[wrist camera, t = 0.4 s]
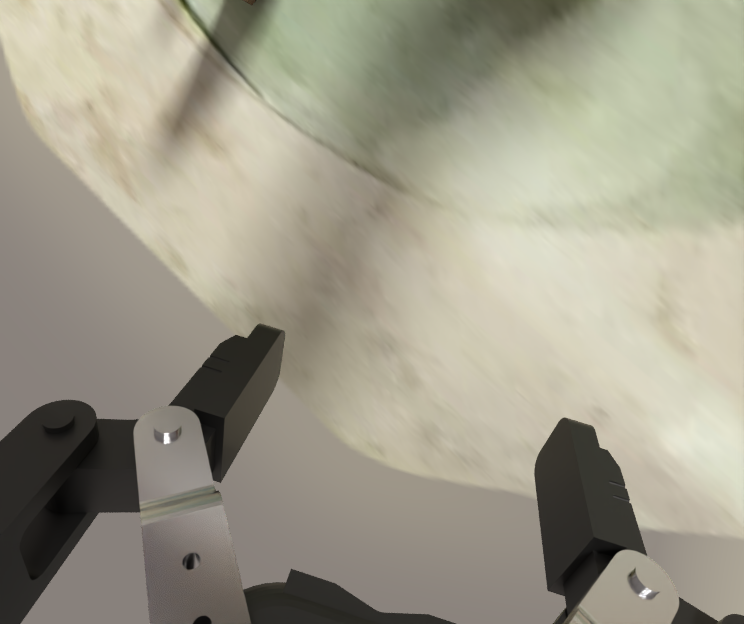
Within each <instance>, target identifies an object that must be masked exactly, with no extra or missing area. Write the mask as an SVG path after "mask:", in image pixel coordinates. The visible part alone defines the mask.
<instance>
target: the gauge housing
mask: <svg viewBox="0 0 744 624" xmlns="http://www.w3.org/2000/svg"><path fill="white" fill-rule="evenodd" d="M243 1H245V2H247V3H249V4H251V5H253V3H254V2H255V1H256V0H243Z"/></svg>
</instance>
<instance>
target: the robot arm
mask: <svg viewBox="0 0 744 624" xmlns="http://www.w3.org/2000/svg"><path fill="white" fill-rule="evenodd" d="M284 340H285V331H283V330H280V329H276V328H273V327H270V326H267V325H263V324H258V325H257V326H256V327H255V329H254V330H253V331H252V333H251V334H250V335H249V337H248V338H244V337H241V336H238V335H235V336H233V337H231V338H229V339H228V340H225V341H224V342H222V343H220V344H219V345H218V347H217V348H216V349H215V350H214V351H213V353H212V354H211V355H210V358H208V359H207V360H206V361H205V362H204V364H203V365H202V367H201V368H200V369H199V370H198V371H197V372H196V373H195V374H194V376H193V377H192V378H191V380H189V382H188V383H187V384H186V385H185V387H184V388H183V389H182V390H181V391H180V393H179V394H178V395H177V396H176V397H175V399H174V400H173V401H172V402H171V403H170V404H169V405H168V406H164V407H159V408H156V409H153V410H151V411H149V412H148V413H146V414H144V415H143V416H142V417H141V418H140V419H136V420H114V419H112V420H111V419H97V417H96V413H95V411H94V409H93V408H92V407H91V406H89V405H88V404H86V403H84V402H81V401H76V400H61V401H55V402H51V403H49V404H46V405H43V406H41V407H39V408H37V409H36V410H34V411H33V412H31V413H30V414H29V415H28V416H27V417H26V418H25V419H23V420H22V422H20V423H19V424H18V425H17V426H16V427H15V428H14V429H13V430H12V431H11V432H10V433H9V434H8V435H7V436H6V437H5V438H3V439H2V440H1V441H0V624H20V623H21V622H22V621H23V619H24V618H25V616H26V615H27V614H28V612H29V611H30V609H31V608H32V606H33V605H34V604H35V602H36V601H37V599H38V598H39V597H40V595H41V594H42V592H43V591H44V590H45V588H46V587H47V585H48V584H49V582H50V581H51V580H52V578H53V577H54V575H55V574H56V573H57V571H58V570H59V568H60V567H61V565H62V564H63V563H64V561H65V560H66V558H67V557H68V556H69V554H70V553H71V551H72V550H73V549H74V547H75V546H76V544H77V543H78V542H79V540H80V539H81V537H82V536H83V534H84V533H85V531H86V530H87V529H88V527H89V526H90V525H91V523H92V522H93V520H94V519H95V517H96V516H97V515H98V513H99V512H140V515H141V528H142V538H143V551H144V561H145V573H146V585H147V596H148V607H149V618H150V624H455V623H452V622H449V621H446V620H443V619H440V618H437V617H434V616H431V615H428V614H427V615H426V614H403V613H382V612H379V611H376V610H375V609H373V608H372V607H370V606H369V605H367V604H365V603H364V602H362V601H361V600H359V599H358V598H356V597H355V596H353V595H352V594H350V593H349V592H347V591H346V590H344V589H343V588H341V587H340V586H338V585H337V584H335V583H332V582H329V581H326V580H323V579H320V578H317V577H314V576H311V575H308V574H305V573H302V572H299V571H296V570H293V569H291V571H290V574H289V577H288V579H287V582H286V583H283V582H282V583H280V582H276V583H265V584H261V585H256V586H253V587H250V588H247V589H245V590H243V587H242V583H241V578H240V574H239V569H238V565H237V561H236V556H235V553H234V548H233V543H232V539H231V535H230V531H229V526H228V522H227V518H226V513H225V509H224V505H223V501H222V497H221V494H220V492H219V491H216V490H215V488H214V483H213V480H214V481H217V482H220V483H221V481H222V480H223V478H224V476H225V474H226V472H227V471H228V469H229V467H230V466H231V464H232V462H233V460H234V459H235V457H236V455H237V453H238V452H239V450H240V448H241V446H242V445H243V443H244V441H245V439H246V438H247V436H248V434H249V433H250V431H251V429H252V427H253V426H254V424H255V422H256V420H257V419H258V417H259V415H260V413H261V412H262V410H263V408H264V406H265V404H266V403H267V401H268V399H269V397H270V396H271V394H272V392H273V390H274V388H275V386H276V383H277V380H278V377H279V373H280V367H281V360H282V353H283V347H284ZM534 474H535V484H536V492H537V501H538V510H539V518H540V527H541V536H542V545H543V554H544V562H545V571H546V580H547V589H548V591H551V592H554V593H556V594H560V595H563V596H565V599H566V608H565V609H564V610H563V611H562V612H561V613H560V615H559V616H558V617H557V619H556V620H555V622H554V623H553V624H744V616H742V615H738V614H731V615H728V616H726V617H724V618H723V619H722V620H720V621H719V622H718V621H717V620H715V619H713V618H712V617H710V616H708V615H707V614H705V613H703V612H702V611H700V610H699V609H697V608H695V607H694V606H692V605H691V604H689V603H687V602H686V601H684V600H683V599H681V598H680V597H679V596H678V593H677V590H676V588H675V586H674V584H673V582H672V580H671V579H670V577H669V576H668V575H667V573H666V572H665V571H664V570H663V569H662V568H661V567H660V566H659V565H658V564H657V563H656V562H654V561H653V560H652V559H651V558H649V557H647V554H646V550H645V547H644V544H643V541H642V537H641V534H640V531H639V528H638V524H637V521H636V518H635V515H634V512H633V508H632V505H631V503H629V500H630V499H629V495H628V492H627V489H625V482H624V479H623V476H622V473H621V470H620V467H619V466H618V464H617V463H616V461H615V460H614V459H613V457H612V456H611V454H610V453H609V451H608V450H605V449H602V448H600V447H599V443H598V439H597V436H596V432H595V429H594V427H593V426H591V425H588V424H584V423H581V422H578V421H575V420H571V419H568V418H562V419H561V420H560V421H559V422H558V424H557V426H556V427H555V429H554V430H553V432H552V433H551V435H550V437H549V438H548V440H547V441H546V443H545V445H544V446H543V448H542V449H541V451H540V453H539V455H538V457H537V460H536V464H535V473H534Z"/></svg>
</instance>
